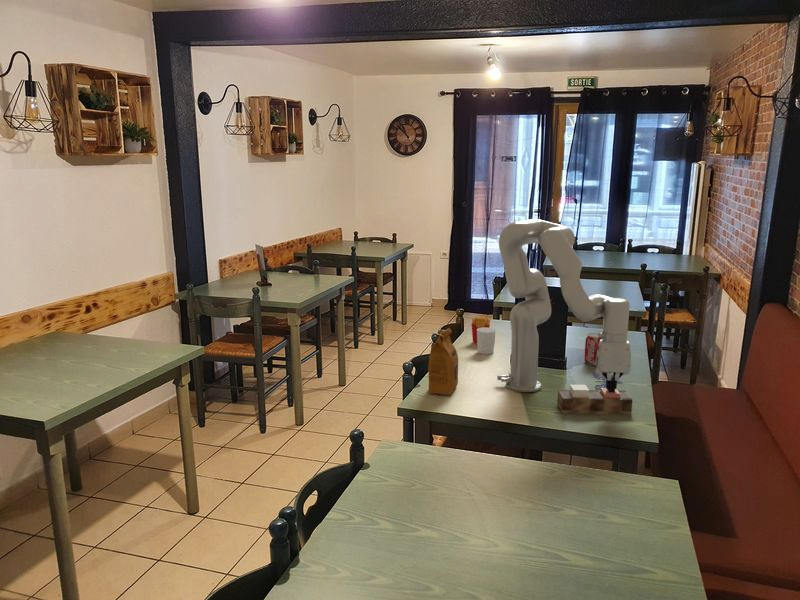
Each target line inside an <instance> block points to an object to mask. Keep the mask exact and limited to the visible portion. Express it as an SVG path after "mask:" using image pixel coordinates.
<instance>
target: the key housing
mask: <svg viewBox="0 0 800 600" xmlns="http://www.w3.org/2000/svg"><path fill="white" fill-rule="evenodd" d="M618 391H619V393H620V398H603V396H602V395H601V394H600V390H596V389H592V390H591V389H589V398H572V396H571V394H570V389H557V403H556V405H557V406H558V408H559V409H560V411H561V414H576V415H577V414H578V415H579V414H585V415H587V414H589V415H590V414H591V415H605V414H606V415H632V411H633V400H634V399H632V398H631V396H630V395H629V394H628V392H627V391H625V390H618Z"/></svg>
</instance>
